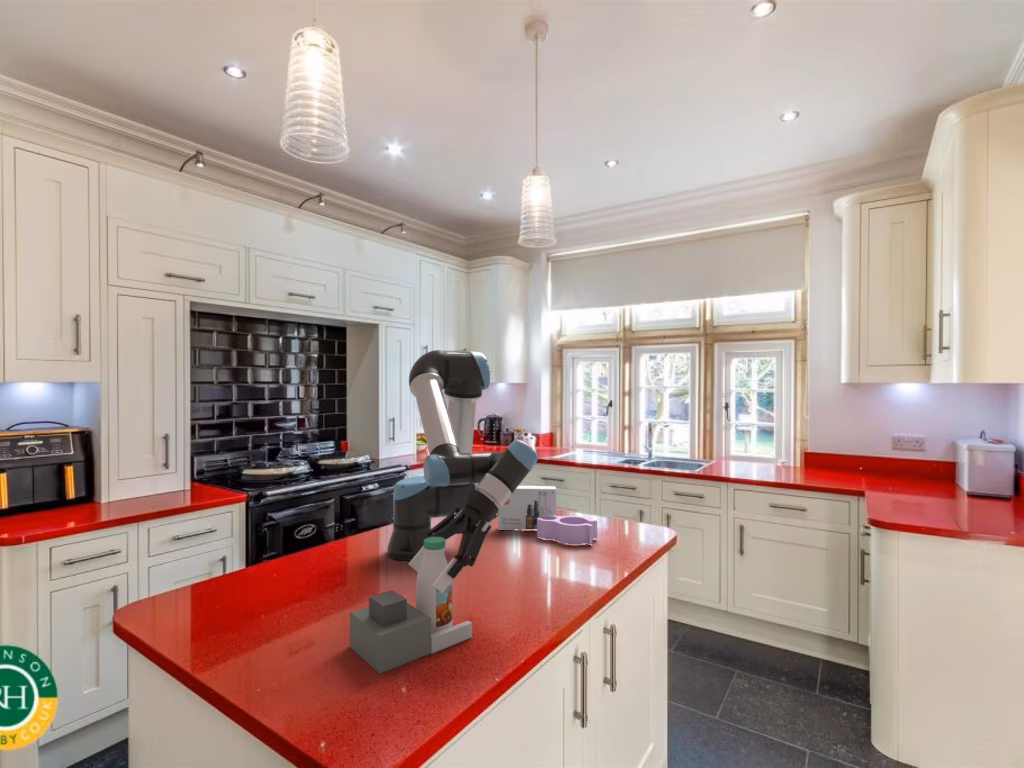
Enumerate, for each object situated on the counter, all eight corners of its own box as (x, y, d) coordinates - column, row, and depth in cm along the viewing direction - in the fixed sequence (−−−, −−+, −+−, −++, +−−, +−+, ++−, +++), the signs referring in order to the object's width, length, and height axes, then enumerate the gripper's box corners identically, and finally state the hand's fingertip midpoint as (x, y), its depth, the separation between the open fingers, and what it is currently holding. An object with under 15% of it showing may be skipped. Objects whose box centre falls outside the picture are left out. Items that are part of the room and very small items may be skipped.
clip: (532, 541, 175) (532, 521, 175) (544, 531, 186) (544, 512, 186) (590, 548, 167) (590, 527, 167) (599, 538, 179) (599, 518, 179)
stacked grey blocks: (349, 646, 104) (349, 591, 104) (436, 615, 118) (436, 567, 118) (380, 674, 94) (380, 614, 94) (472, 637, 108) (472, 584, 108)
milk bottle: (422, 644, 105) (422, 546, 105) (411, 628, 112) (411, 536, 112) (457, 636, 108) (458, 541, 109) (444, 621, 115) (445, 532, 115)
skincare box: (498, 532, 185) (498, 488, 185) (498, 527, 191) (498, 485, 191) (556, 532, 185) (556, 488, 185) (555, 528, 191) (555, 485, 191)
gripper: (527, 521, 107) (461, 610, 99) (472, 498, 128) (415, 569, 121) (505, 499, 104) (436, 588, 97) (453, 479, 126) (393, 551, 118)
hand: (424, 578), depth 109 cm, fingers open, 13 cm apart
